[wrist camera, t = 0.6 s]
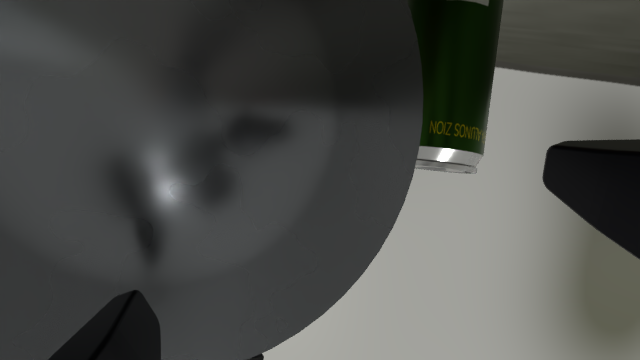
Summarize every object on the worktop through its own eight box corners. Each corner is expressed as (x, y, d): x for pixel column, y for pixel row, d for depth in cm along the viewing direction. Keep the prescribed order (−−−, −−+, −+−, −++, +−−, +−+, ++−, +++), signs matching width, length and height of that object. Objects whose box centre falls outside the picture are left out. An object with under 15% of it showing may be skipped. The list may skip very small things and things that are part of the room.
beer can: (415, -65, 20) (386, 161, 20) (523, -63, 19) (492, 173, 19) (408, -13, 25) (385, 165, 25) (492, -10, 24) (468, 174, 25)
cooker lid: (-181, -395, 5) (-238, -498, 4) (429, -51, 11) (458, -66, 10) (-222, 560, 6) (-276, 632, 5) (348, 412, 12) (366, 436, 11)
